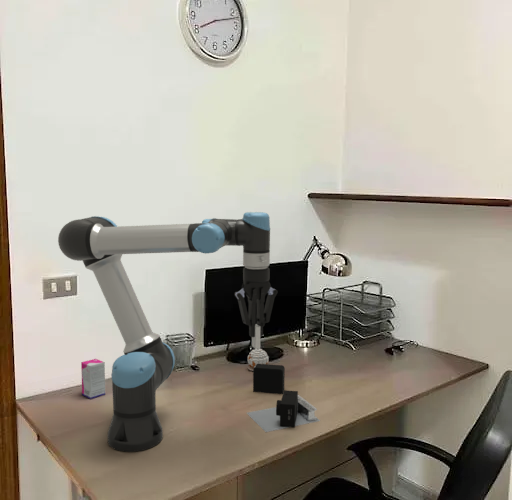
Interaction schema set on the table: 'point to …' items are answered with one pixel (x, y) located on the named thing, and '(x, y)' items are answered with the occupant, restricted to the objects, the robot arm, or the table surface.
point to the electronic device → (268, 378)
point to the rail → (306, 409)
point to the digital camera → (287, 408)
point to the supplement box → (93, 378)
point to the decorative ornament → (257, 358)
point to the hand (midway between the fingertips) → (256, 347)
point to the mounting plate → (274, 419)
